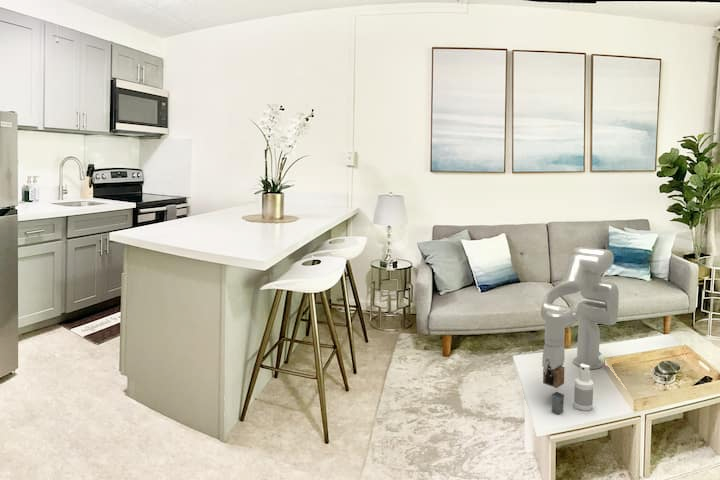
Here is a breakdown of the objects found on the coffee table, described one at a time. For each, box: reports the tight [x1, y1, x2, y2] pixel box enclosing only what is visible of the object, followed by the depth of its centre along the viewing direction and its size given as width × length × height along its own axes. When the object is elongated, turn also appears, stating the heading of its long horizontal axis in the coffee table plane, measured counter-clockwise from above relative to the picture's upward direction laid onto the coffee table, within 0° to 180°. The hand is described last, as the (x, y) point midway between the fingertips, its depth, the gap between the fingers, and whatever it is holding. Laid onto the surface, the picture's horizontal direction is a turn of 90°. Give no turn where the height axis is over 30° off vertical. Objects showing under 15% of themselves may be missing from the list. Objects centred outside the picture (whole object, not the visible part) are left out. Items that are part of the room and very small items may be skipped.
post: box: [551, 391, 565, 415], centre depth 189 cm, size 3×3×8 cm
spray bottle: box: [573, 364, 594, 412], centre depth 191 cm, size 7×7×18 cm
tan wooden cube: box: [542, 366, 565, 389], centre depth 197 cm, size 6×6×7 cm
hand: (553, 380), depth 197 cm, fingers closed on tan wooden cube, 5 cm apart
